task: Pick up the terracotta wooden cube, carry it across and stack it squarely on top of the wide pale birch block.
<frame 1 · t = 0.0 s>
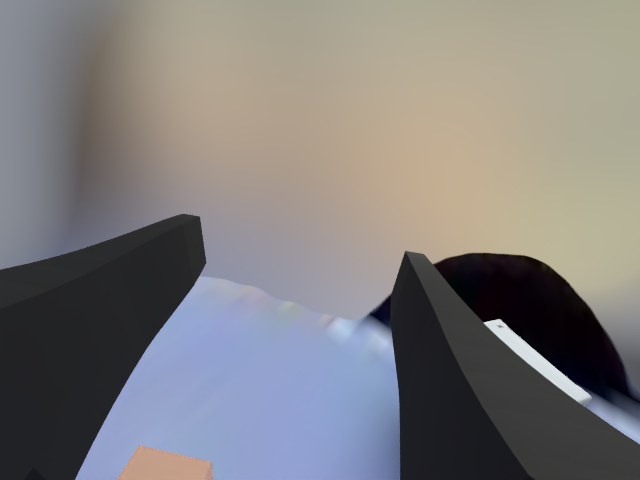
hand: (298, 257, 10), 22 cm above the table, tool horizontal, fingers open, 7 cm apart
white rounded block: (466, 436, 27), on the table
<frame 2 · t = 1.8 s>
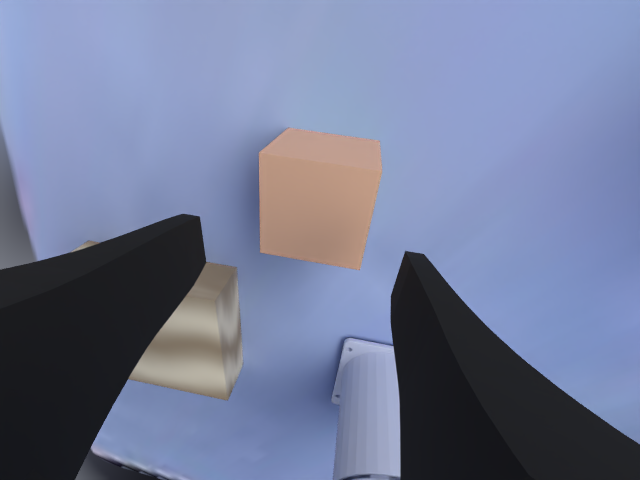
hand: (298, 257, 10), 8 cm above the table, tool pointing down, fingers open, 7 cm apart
terracotta cube: (328, 177, 17), on the table
birch base block: (176, 305, 26), on the table
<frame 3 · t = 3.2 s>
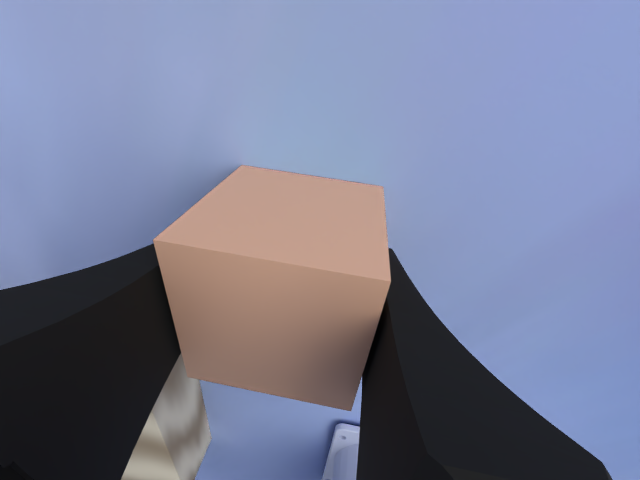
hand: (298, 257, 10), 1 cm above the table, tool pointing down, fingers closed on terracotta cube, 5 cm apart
terracotta cube: (305, 236, 12), on the table, touching gripper
birch base block: (123, 373, 20), on the table
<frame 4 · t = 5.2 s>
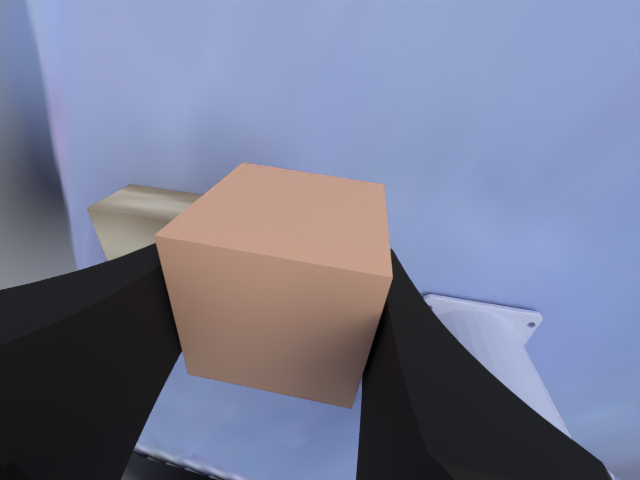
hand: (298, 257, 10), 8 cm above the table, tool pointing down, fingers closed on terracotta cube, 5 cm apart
terracotta cube: (306, 233, 11), point 7 cm above the table, touching gripper
birch base block: (225, 264, 23), on the table
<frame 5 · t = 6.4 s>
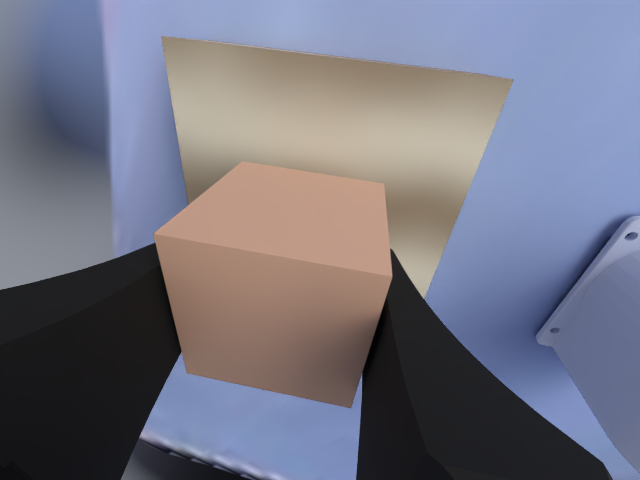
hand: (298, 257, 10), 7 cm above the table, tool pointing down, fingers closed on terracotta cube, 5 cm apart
terracotta cube: (306, 233, 11), point 5 cm above the table, touching gripper
birch base block: (325, 181, 16), on the table
when the fingers open (7 cm above the table, at t = 7.1 s): terracotta cube drops 2 cm, point 4 cm above the table.
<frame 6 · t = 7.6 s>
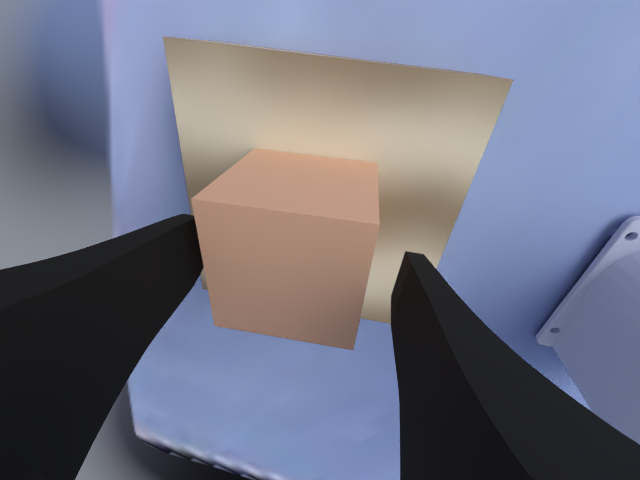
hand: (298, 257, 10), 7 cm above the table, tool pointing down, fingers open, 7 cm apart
terracotta cube: (311, 210, 13), point 4 cm above the table
birch base block: (326, 181, 16), on the table
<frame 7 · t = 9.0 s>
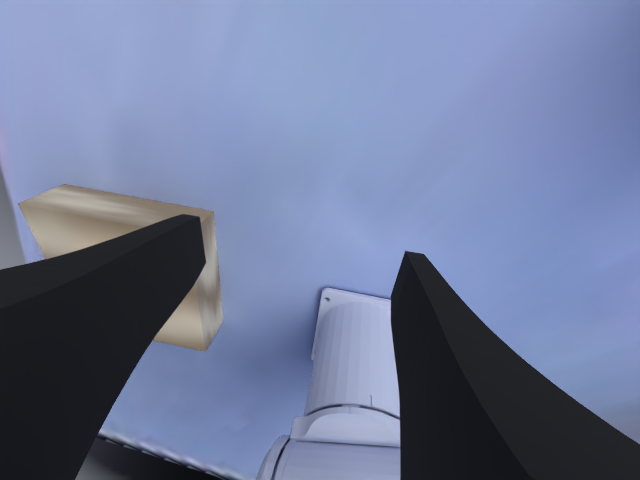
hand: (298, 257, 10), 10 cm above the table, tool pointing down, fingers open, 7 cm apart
birch base block: (156, 257, 26), on the table, touching terracotta cube
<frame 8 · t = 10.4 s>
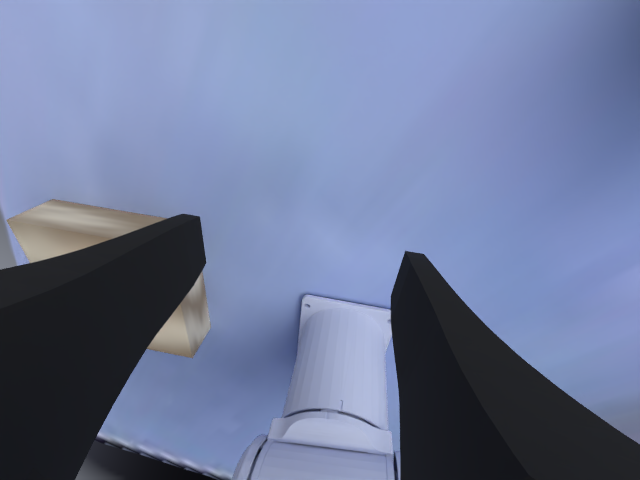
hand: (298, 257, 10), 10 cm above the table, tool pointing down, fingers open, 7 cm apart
birch base block: (143, 267, 27), on the table
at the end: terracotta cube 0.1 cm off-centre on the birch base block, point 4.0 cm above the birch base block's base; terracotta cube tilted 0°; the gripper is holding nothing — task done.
